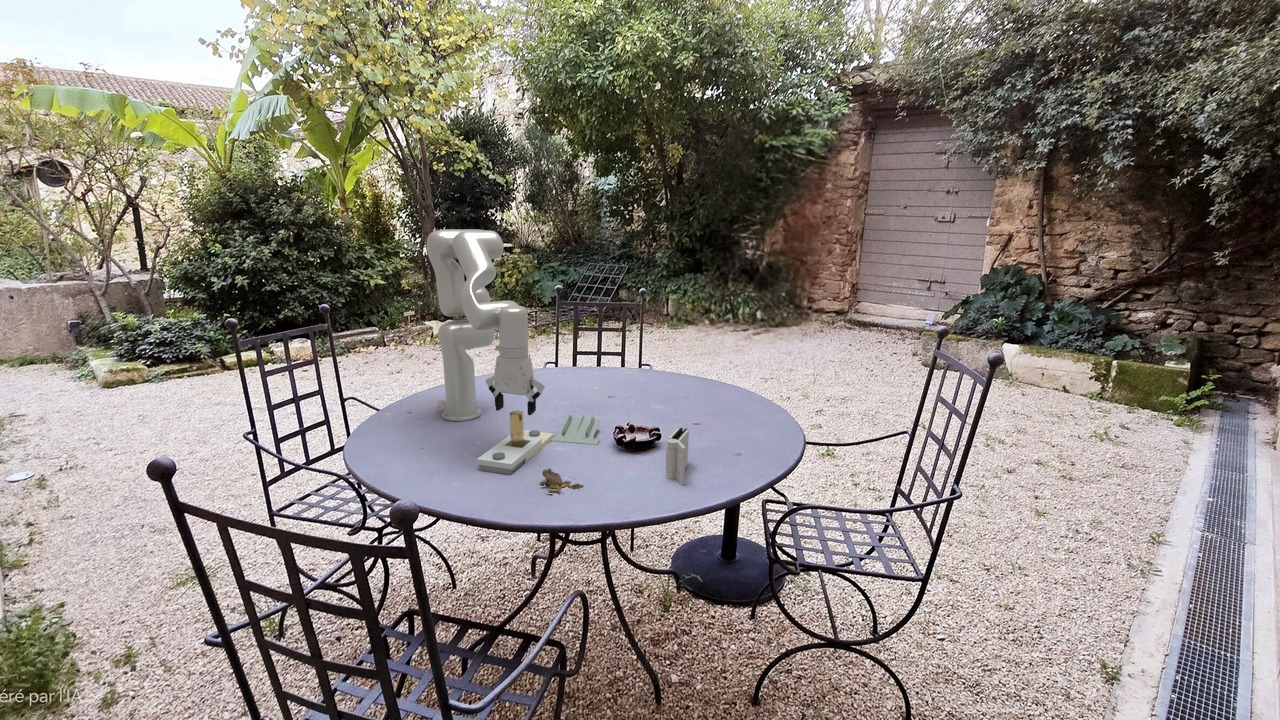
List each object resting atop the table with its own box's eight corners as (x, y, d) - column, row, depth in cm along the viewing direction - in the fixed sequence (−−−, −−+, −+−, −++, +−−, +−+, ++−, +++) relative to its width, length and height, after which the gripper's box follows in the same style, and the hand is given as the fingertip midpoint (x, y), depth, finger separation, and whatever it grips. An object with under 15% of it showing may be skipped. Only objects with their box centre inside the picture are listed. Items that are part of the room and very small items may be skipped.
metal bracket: (560, 410, 185) (606, 413, 182) (562, 425, 188) (607, 428, 185) (546, 438, 172) (595, 442, 170) (548, 453, 175) (597, 458, 173)
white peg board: (511, 474, 152) (511, 461, 151) (477, 469, 155) (476, 456, 154) (553, 438, 176) (553, 426, 175) (523, 434, 179) (522, 422, 178)
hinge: (684, 485, 148) (685, 448, 146) (663, 483, 149) (664, 446, 146) (688, 462, 162) (689, 428, 159) (668, 460, 162) (669, 426, 160)
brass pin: (508, 454, 164) (507, 414, 161) (515, 449, 168) (513, 410, 165) (520, 456, 163) (519, 415, 160) (526, 451, 167) (525, 411, 164)
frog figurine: (523, 489, 145) (523, 475, 144) (559, 473, 154) (559, 460, 153) (554, 504, 138) (554, 489, 137) (590, 487, 147) (590, 473, 146)
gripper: (478, 351, 157) (480, 411, 161) (537, 358, 152) (538, 420, 157) (492, 345, 164) (494, 403, 168) (549, 351, 159) (549, 410, 164)
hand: (515, 411), depth 163 cm, fingers open, 9 cm apart
